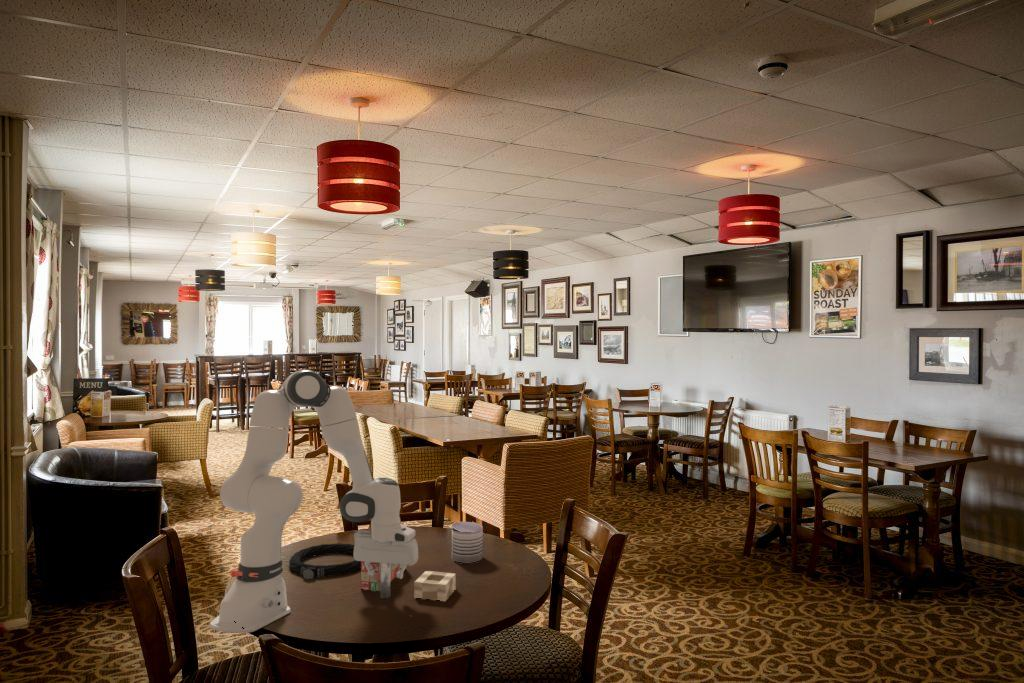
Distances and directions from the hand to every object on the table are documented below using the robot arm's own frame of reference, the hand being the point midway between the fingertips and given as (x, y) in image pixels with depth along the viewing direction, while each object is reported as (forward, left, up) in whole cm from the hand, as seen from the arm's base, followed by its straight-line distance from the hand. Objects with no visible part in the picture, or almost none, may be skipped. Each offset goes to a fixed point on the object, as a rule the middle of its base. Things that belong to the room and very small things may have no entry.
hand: (385, 576), depth 203 cm
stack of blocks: (+14, +6, -6) cm, 17 cm away
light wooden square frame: (+6, -14, -6) cm, 16 cm away
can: (+40, -14, -6) cm, 43 cm away
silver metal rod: (0, 0, -6) cm, 6 cm away
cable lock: (+22, +31, -7) cm, 39 cm away
